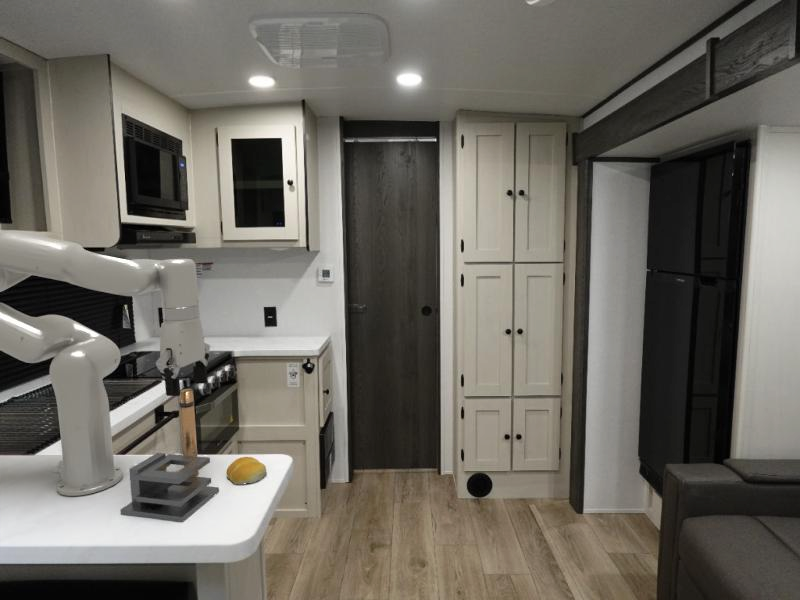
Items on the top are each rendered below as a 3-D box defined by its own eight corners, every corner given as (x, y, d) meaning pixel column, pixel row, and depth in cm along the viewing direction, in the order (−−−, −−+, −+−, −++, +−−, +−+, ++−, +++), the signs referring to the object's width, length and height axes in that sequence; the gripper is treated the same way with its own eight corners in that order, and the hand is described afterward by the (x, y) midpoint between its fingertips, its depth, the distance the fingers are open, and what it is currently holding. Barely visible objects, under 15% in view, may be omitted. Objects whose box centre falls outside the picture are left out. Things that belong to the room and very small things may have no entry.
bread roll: (238, 489, 108) (237, 472, 108) (222, 476, 115) (221, 459, 115) (273, 477, 114) (272, 460, 113) (256, 465, 121) (255, 449, 120)
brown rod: (181, 477, 114) (175, 392, 112) (189, 471, 117) (184, 388, 115) (193, 478, 114) (187, 392, 112) (201, 472, 117) (196, 388, 115)
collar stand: (120, 514, 99) (117, 473, 98) (162, 485, 110) (159, 448, 110) (182, 522, 96) (179, 479, 95) (218, 491, 107) (216, 453, 106)
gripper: (191, 309, 121) (196, 378, 123) (138, 320, 104) (146, 400, 106) (218, 309, 119) (224, 379, 121) (169, 320, 102) (177, 401, 104)
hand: (187, 389), depth 113 cm, fingers open, 9 cm apart
